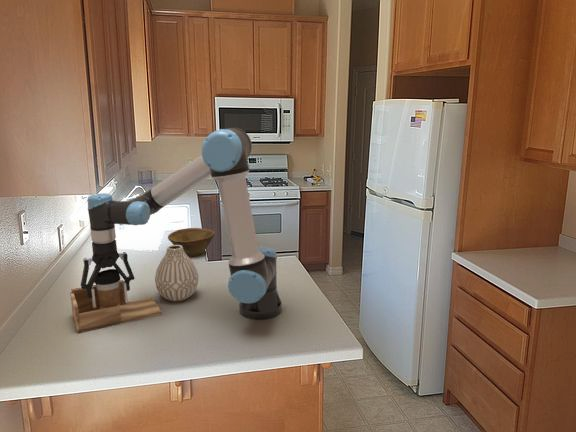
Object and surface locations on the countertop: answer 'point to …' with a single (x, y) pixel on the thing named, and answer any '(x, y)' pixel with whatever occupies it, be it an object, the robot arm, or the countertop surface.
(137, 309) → the shelf
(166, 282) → the vase
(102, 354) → the countertop surface
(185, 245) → the bowl
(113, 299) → the coffee cup
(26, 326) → the countertop surface
